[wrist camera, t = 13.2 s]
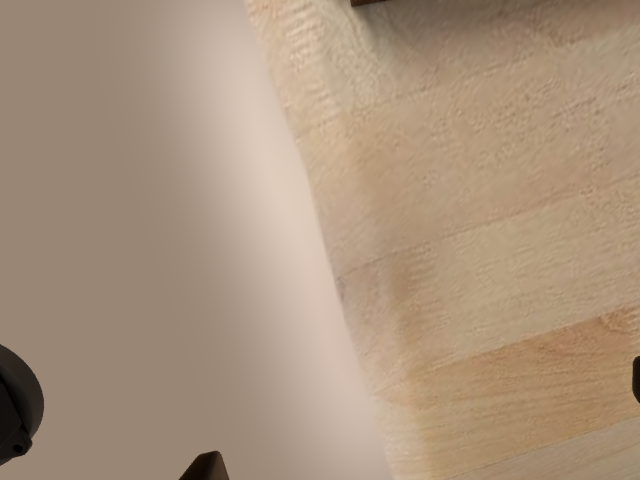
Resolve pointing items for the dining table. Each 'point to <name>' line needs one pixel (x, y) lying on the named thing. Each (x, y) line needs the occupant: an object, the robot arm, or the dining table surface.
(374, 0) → the tray
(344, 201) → the dining table surface
